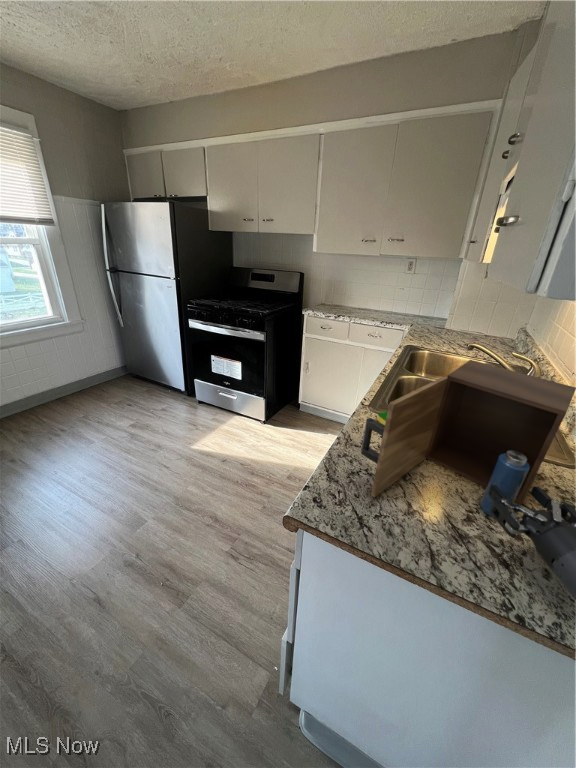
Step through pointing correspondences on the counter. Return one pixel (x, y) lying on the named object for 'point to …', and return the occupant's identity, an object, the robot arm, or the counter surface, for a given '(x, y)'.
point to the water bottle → (506, 478)
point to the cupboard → (496, 421)
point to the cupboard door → (403, 434)
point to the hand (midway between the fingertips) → (512, 488)
